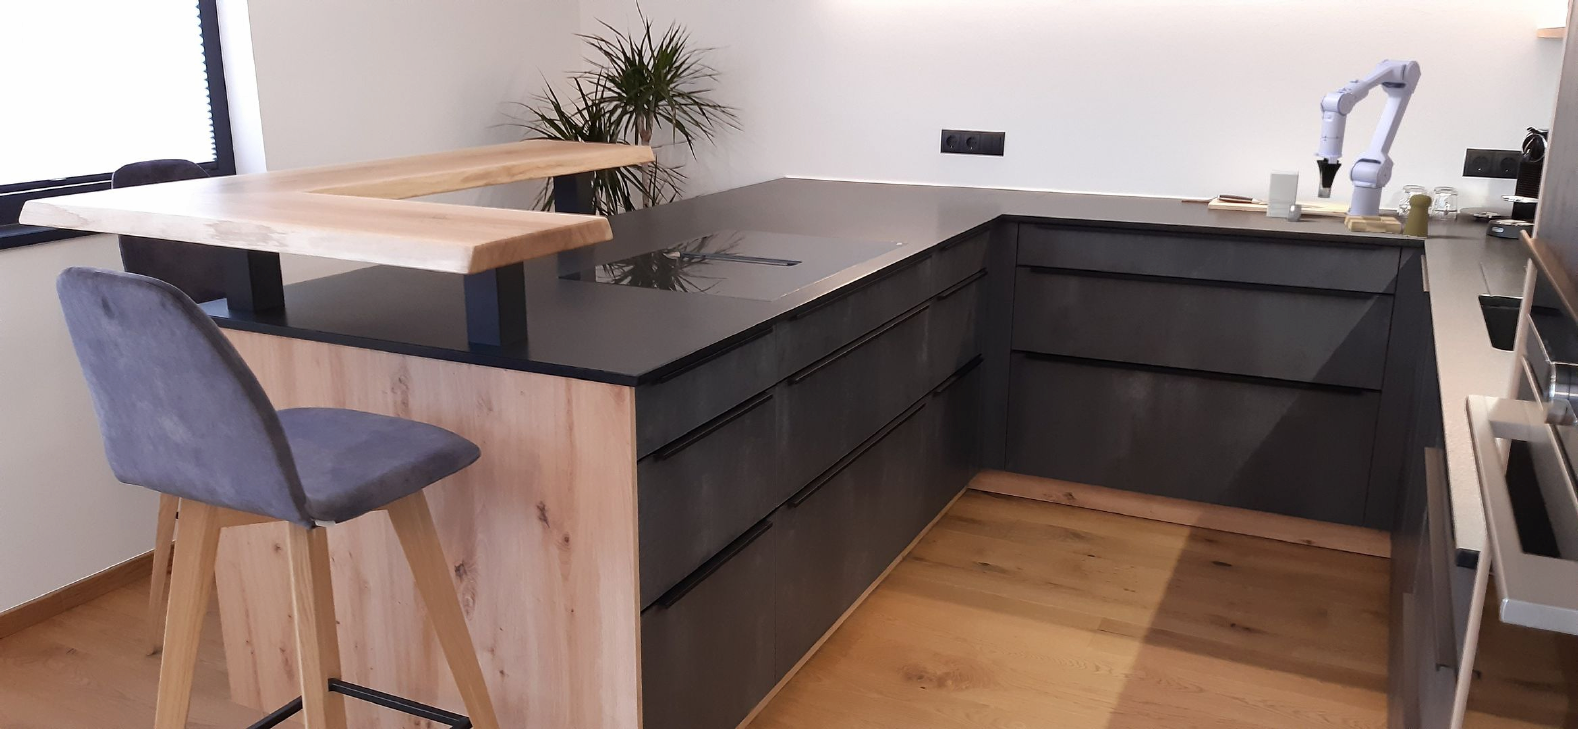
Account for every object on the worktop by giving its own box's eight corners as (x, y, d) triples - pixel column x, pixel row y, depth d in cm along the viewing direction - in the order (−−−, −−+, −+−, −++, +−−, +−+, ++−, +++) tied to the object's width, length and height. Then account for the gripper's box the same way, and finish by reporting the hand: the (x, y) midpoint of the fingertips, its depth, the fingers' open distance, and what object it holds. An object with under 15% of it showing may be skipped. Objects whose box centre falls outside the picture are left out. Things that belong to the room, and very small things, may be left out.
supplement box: (1294, 214, 340) (1300, 171, 337) (1293, 218, 334) (1298, 174, 330) (1267, 213, 343) (1272, 169, 339) (1265, 216, 337) (1270, 172, 333)
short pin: (1287, 219, 332) (1289, 203, 331) (1299, 220, 331) (1301, 204, 330) (1288, 221, 329) (1290, 205, 328) (1300, 222, 328) (1302, 206, 327)
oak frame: (1344, 223, 326) (1345, 214, 325) (1391, 226, 322) (1393, 216, 322) (1350, 231, 315) (1352, 221, 314) (1400, 233, 311) (1401, 224, 311)
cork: (1422, 234, 310) (1428, 193, 307) (1431, 239, 305) (1438, 196, 302) (1398, 234, 311) (1404, 192, 308) (1407, 238, 305) (1414, 196, 302)
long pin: (1316, 196, 328) (1320, 169, 326) (1329, 196, 327) (1332, 169, 325) (1318, 197, 325) (1322, 170, 323) (1330, 198, 324) (1334, 171, 322)
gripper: (1313, 134, 329) (1307, 182, 333) (1319, 139, 316) (1313, 189, 320) (1340, 135, 327) (1333, 183, 331) (1348, 140, 314) (1341, 191, 318)
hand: (1325, 186), depth 325 cm, fingers closed on long pin, 3 cm apart
